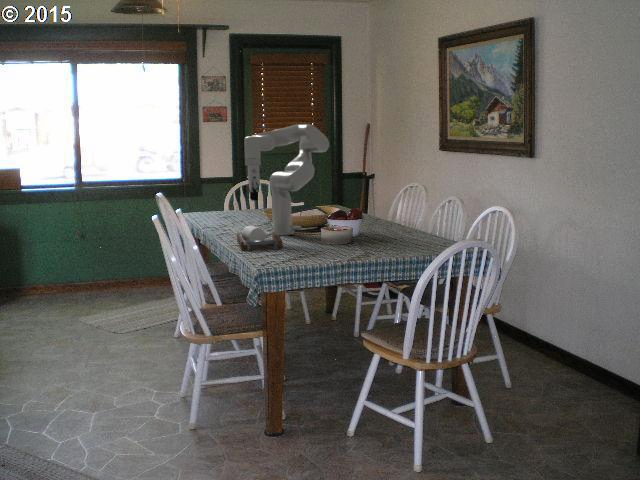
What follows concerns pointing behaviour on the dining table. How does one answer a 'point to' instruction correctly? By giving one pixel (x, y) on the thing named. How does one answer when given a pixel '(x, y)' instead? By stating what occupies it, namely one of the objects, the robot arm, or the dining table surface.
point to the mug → (254, 233)
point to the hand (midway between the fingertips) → (254, 199)
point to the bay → (260, 243)
